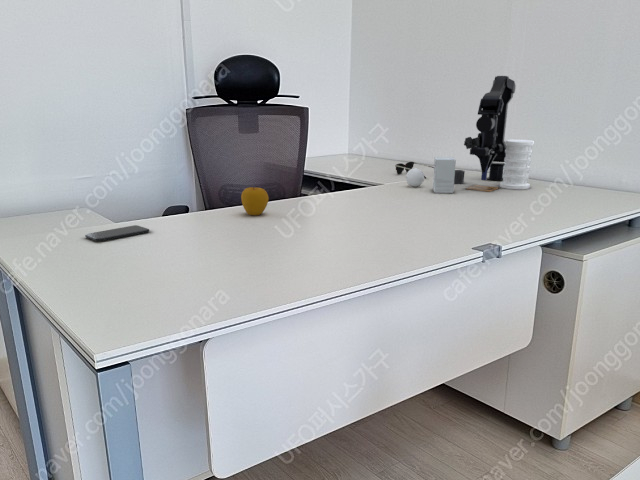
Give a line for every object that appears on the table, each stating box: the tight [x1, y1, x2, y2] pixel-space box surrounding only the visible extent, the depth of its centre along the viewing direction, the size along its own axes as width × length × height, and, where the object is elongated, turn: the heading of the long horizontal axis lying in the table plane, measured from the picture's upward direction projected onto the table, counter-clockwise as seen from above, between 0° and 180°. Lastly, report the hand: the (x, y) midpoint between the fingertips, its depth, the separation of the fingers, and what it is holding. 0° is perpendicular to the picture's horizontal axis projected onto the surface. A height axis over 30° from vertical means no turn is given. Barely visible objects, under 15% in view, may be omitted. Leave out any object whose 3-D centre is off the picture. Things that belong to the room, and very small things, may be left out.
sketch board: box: [465, 184, 500, 193], centre depth 234 cm, size 10×10×1 cm
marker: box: [480, 166, 489, 181], centre depth 230 cm, size 2×2×9 cm
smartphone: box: [84, 224, 150, 242], centre depth 164 cm, size 8×1×16 cm
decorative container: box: [499, 138, 535, 190], centre depth 235 cm, size 12×12×18 cm
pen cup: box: [454, 169, 465, 185], centre depth 246 cm, size 5×5×5 cm
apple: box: [240, 186, 270, 217], centre depth 188 cm, size 9×8×9 cm
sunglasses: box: [394, 161, 434, 180], centre depth 265 cm, size 14×16×5 cm
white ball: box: [405, 167, 425, 187], centre depth 238 cm, size 10×7×7 cm
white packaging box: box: [432, 156, 457, 194], centre depth 226 cm, size 7×7×13 cm
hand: (484, 171), depth 230 cm, fingers closed on marker, 2 cm apart
